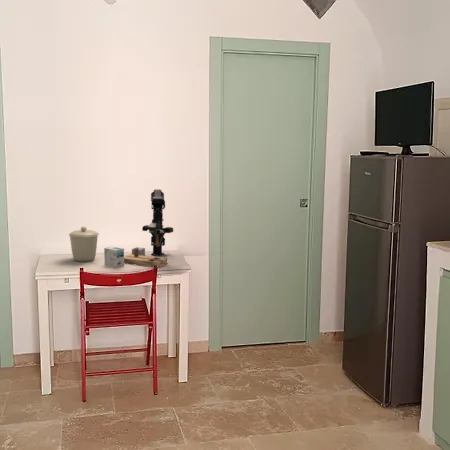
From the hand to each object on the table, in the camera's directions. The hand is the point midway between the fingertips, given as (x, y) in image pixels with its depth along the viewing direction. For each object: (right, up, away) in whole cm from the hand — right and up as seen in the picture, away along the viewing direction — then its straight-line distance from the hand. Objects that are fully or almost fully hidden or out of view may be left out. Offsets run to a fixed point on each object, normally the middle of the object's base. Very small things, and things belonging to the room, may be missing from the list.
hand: (157, 242), depth 363 cm
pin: (0, -2, 0) cm, 2 cm away
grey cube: (-14, -10, +15) cm, 23 cm away
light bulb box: (-26, -14, -5) cm, 29 cm away
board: (-9, -12, +2) cm, 15 cm away
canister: (-47, -11, +7) cm, 49 cm away
